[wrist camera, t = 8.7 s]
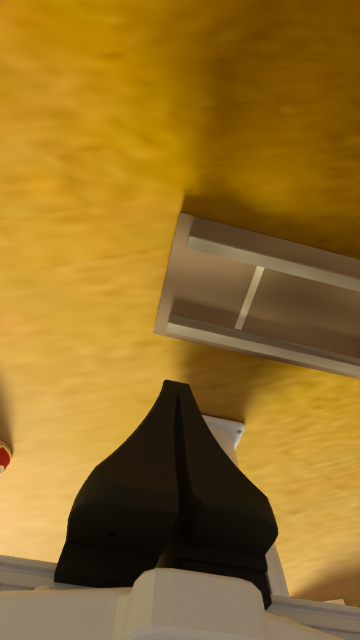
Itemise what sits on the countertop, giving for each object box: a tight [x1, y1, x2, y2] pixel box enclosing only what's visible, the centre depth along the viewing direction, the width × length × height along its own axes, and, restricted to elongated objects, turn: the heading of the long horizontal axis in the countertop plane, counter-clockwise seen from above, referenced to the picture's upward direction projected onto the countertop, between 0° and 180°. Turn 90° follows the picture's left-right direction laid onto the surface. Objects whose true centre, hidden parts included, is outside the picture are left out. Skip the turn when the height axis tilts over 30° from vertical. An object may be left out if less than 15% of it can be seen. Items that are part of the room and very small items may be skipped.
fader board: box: [153, 212, 360, 379], centre depth 21 cm, size 10×28×3 cm, turn 76°
